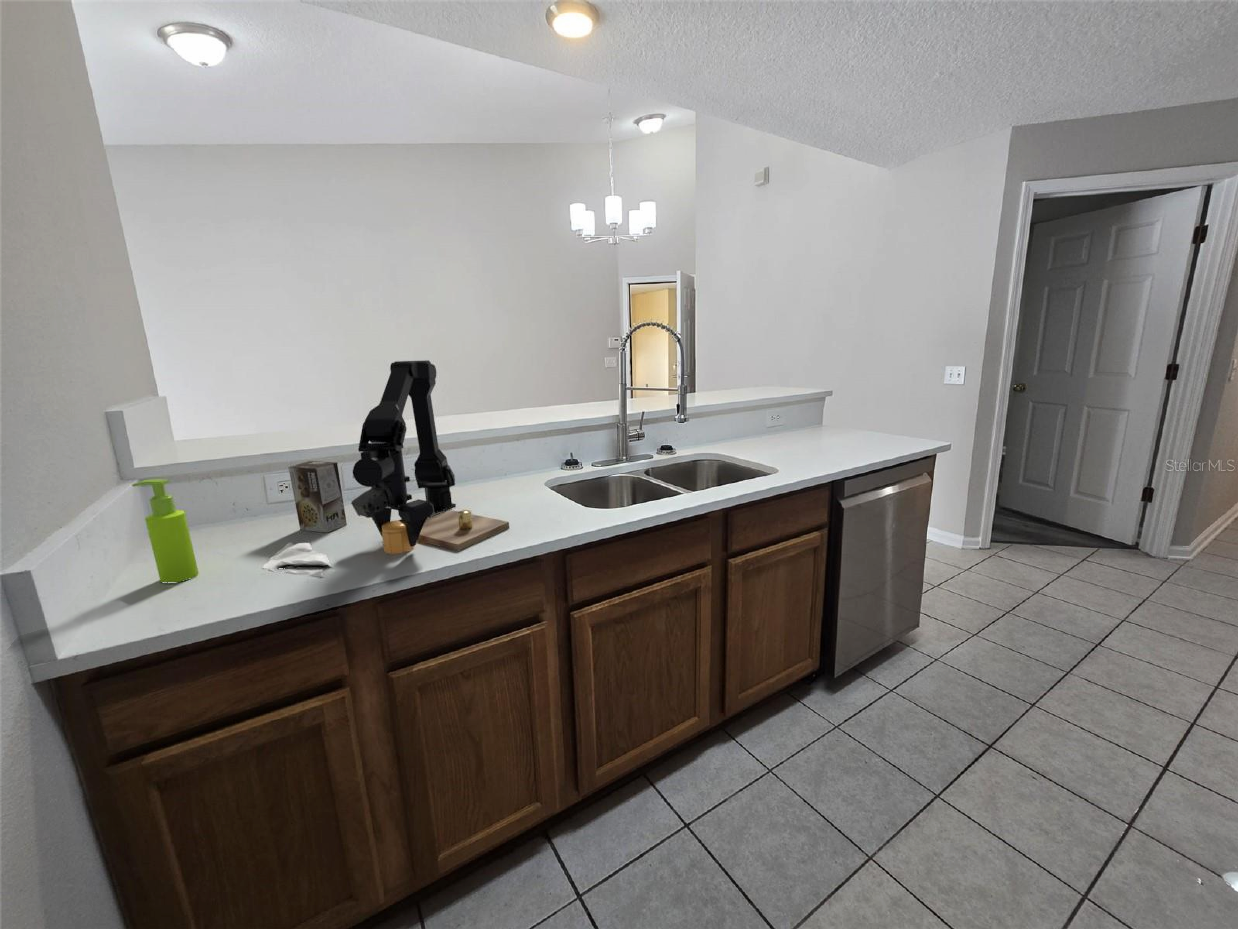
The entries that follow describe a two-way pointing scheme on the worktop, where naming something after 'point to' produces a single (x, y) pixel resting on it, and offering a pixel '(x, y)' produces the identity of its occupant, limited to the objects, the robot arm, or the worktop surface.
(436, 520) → the wooden board
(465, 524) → the post
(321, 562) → the cloth
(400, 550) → the cap
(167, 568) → the soap dispenser
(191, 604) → the worktop surface
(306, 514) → the coffee box
